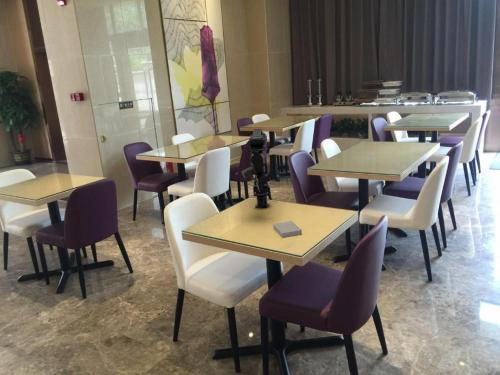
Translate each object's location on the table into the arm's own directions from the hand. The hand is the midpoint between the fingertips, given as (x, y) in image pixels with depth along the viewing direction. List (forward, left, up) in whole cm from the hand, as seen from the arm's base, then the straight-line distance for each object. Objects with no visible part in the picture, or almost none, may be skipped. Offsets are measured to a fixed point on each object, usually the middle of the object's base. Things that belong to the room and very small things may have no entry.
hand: (260, 191), depth 215 cm
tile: (+15, +15, -11) cm, 24 cm away
